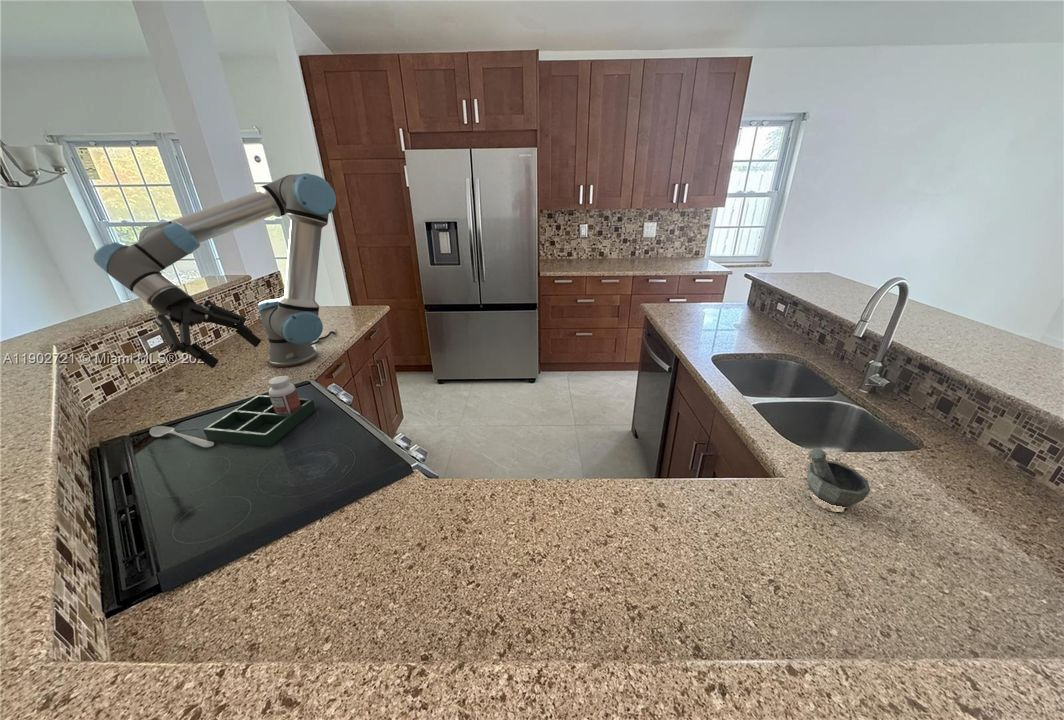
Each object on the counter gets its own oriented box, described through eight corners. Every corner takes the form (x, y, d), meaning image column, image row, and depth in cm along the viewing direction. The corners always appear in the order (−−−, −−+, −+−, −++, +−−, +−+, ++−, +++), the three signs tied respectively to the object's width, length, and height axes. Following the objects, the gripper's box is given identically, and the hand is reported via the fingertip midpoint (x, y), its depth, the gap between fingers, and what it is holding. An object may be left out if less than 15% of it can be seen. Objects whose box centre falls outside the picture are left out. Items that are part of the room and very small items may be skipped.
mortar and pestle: (843, 489, 79) (864, 444, 74) (867, 524, 71) (892, 476, 66) (784, 480, 82) (801, 436, 77) (801, 512, 74) (821, 465, 69)
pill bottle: (300, 406, 108) (290, 372, 103) (304, 415, 103) (294, 380, 99) (275, 413, 104) (263, 378, 99) (278, 423, 100) (266, 387, 95)
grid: (262, 404, 109) (258, 394, 108) (316, 409, 107) (313, 399, 106) (207, 440, 94) (202, 429, 92) (269, 446, 92) (265, 435, 90)
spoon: (163, 427, 99) (161, 422, 98) (221, 441, 94) (219, 435, 93) (145, 436, 95) (142, 431, 94) (204, 451, 90) (201, 445, 89)
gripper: (205, 293, 106) (268, 344, 111) (104, 322, 84) (188, 383, 89) (214, 276, 104) (279, 328, 108) (113, 300, 81) (199, 365, 86)
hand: (238, 353), depth 99 cm, fingers open, 13 cm apart
